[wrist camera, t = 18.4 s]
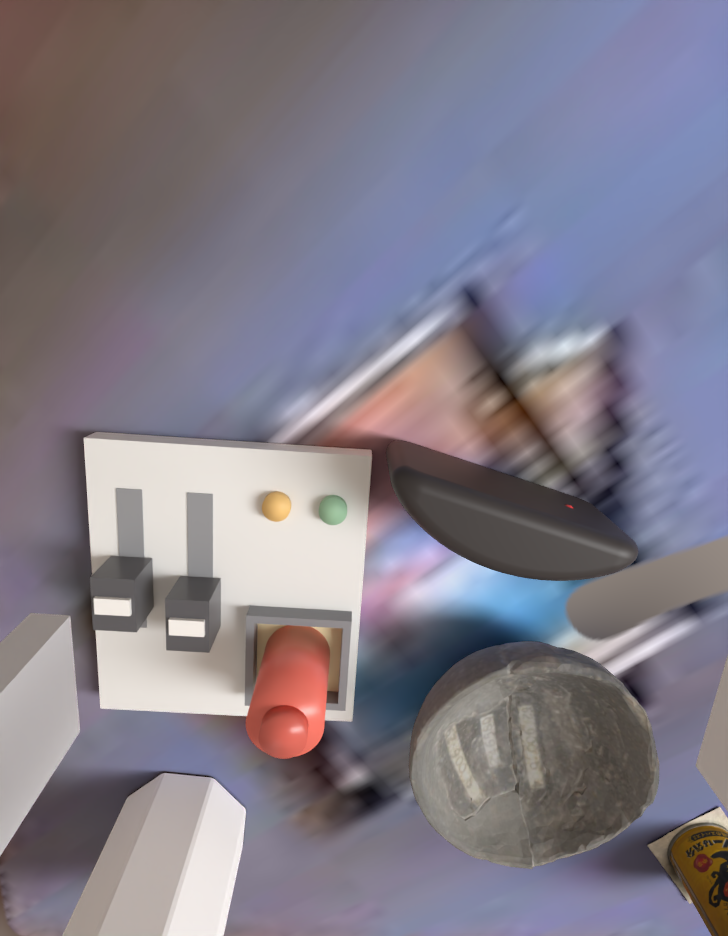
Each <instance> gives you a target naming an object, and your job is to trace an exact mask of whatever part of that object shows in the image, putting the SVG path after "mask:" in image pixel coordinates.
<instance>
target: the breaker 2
mask: <svg viewBox="0 0 728 936" xmlns="http://www.w3.org/2000/svg"><path fill="white" fill-rule="evenodd" d="M165 620H166V650H169V651H187V652H205V653H209V652H210V650H211V648H212V645H213V643H214V641H215V638H216V636H217V634H218V631H219V629H220V627H221V578H208V577H191V576H180V577H179V578H178V580H177V581H176V583H175V584H174V586H173V587H172V589H171V590H170V592H169V593H168V595H167V597H166V598H165Z"/></svg>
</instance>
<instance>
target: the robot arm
mask: <svg viewBox="0 0 728 936" xmlns="http://www.w3.org/2000/svg"><path fill="white" fill-rule="evenodd" d="M79 732H80V725H79V713H78V701H77V690H76V678H75V666H74V655H73V643H72V631H71V620H70V616H69V615H52V614H35V613H30V614H29V615H28V616H27V617H26V618H25V619H24V620H23V621H22V622H21V623H20V624H19V625H18V626H17V627H16V628H15V629H14V630H13V631H12V632H11V633H10V634H9V635H8V636H7V637H6V638H5V639H4V640H3V641H2V642H1V643H0V856H1V854H2V853H3V851H4V849H5V848H6V846H7V845H8V843H9V842H10V840H11V839H12V837H13V835H14V834H15V832H16V831H17V829H18V828H19V826H20V824H21V823H22V821H23V820H24V818H25V817H26V815H27V814H28V812H29V810H30V809H31V807H32V806H33V804H34V803H35V801H36V799H37V798H38V796H39V795H40V793H41V792H42V790H43V788H44V787H45V785H46V784H47V782H48V781H49V779H50V778H51V776H52V774H53V773H54V771H55V770H56V768H57V767H58V765H59V763H60V762H61V760H62V759H63V757H64V756H65V754H66V753H67V751H68V749H69V748H70V746H71V745H72V743H73V742H74V740H75V738H76V737H77V735H78V734H79ZM696 767H697V768H698V770H699V771H700V773H701V774H702V775H703V777H704V778H705V780H706V781H707V783H708V784H709V785H710V787H711V788H712V790H713V791H714V793H715V794H716V795H717V797H718V798H719V800H720V801H721V803H722V804H723V805H724V807H725V808H726V810H727V811H728V656H727V659H726V663H725V666H724V670H723V673H722V677H721V680H720V684H719V687H718V690H717V694H716V697H715V701H714V704H713V708H712V711H711V715H710V718H709V721H708V725H707V728H706V732H705V735H704V739H703V742H702V745H701V749H700V752H699V756H698V759H697V763H696Z"/></svg>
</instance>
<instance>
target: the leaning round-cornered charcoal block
mask: <svg viewBox="0 0 728 936" xmlns="http://www.w3.org/2000/svg"><path fill="white" fill-rule="evenodd" d="M386 457H387V463H388V469H389V474H390V480H391V484H392V487H393V489H394V492H395V494H396V496H397V498H398V499H399V501H400V503H401V504H402V506H403V507H404V508H405V510H406V511H407V512H408V514H409V515H410V516H411V517H412V518H413V519H414V520H415V522H416V523H417V524H418V525H419V526H420V527H421V528H422V529H423V530H425V531H426V532H427V533H428V534H429V535H430V536H432V537H433V538H434V539H435V540H437V541H438V542H439V543H441V544H442V545H444V546H445V547H447V548H448V549H450V550H451V551H453V552H455V553H457V554H458V555H460V556H462V557H464V558H466V559H468V560H470V561H472V562H474V563H476V564H479V565H481V566H484V567H487V568H489V569H492V570H495V571H499V572H502V573H505V574H510V575H514V576H518V577H524V578H530V579H538V580H552V581H568V580H581V579H590V578H595V577H601V576H605V575H609V574H613V573H616V572H618V571H620V570H622V569H624V568H626V567H627V566H629V565H630V564H632V563H633V562H634V561H635V559H636V558H637V555H638V548H637V545H636V543H635V542H634V540H633V539H631V538H630V537H629V536H628V535H627V534H626V533H624V532H623V531H622V530H621V529H620V528H619V527H618V526H616V525H615V524H614V523H613V522H612V521H611V520H609V519H608V518H607V517H606V516H605V515H604V514H603V513H601V512H600V511H599V510H598V509H597V508H596V507H594V506H593V505H592V504H590V503H588V502H586V501H584V500H582V499H579V498H577V497H574V496H571V495H568V494H565V493H562V492H559V491H556V490H553V489H550V488H547V487H544V486H541V485H538V484H534V483H531V482H528V481H525V480H522V479H519V478H516V477H513V476H510V475H507V474H504V473H501V472H498V471H495V470H492V469H489V468H486V467H483V466H480V465H477V464H474V463H471V462H468V461H465V460H462V459H459V458H456V457H453V456H450V455H447V454H444V453H440V452H437V451H434V450H431V449H428V448H425V447H422V446H419V445H416V444H413V443H410V442H406V441H399V440H397V441H393V442H391V443H390V444H389V445H388V447H387V449H386Z"/></svg>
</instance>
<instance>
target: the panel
mask: <svg viewBox="0 0 728 936" xmlns="http://www.w3.org/2000/svg"><path fill="white" fill-rule="evenodd" d="M84 452H85V468H86V484H87V500H88V516H89V532H90V548H91V564H92V574H93V573H94V572H95V571H96V570H97V569H98V568H99V567H100V566H101V565H102V564H103V563H104V562H105V561H106V560H107V559H108V558H109V557H110V556H124V557H141V558H152V564H153V596H154V608H153V609H152V611H151V612H150V614H149V615H148V617H147V618H146V620H145V621H144V623H143V624H142V625H141V627H140V628H139V630H138V631H137V632H120V631H103V630H96V645H97V661H98V677H99V694H100V708H103V709H122V710H141V711H160V712H179V713H197V714H216V715H235V716H247V714H248V710H249V706H250V703H251V699H252V695H253V692H254V688H255V684H256V681H257V677H258V673H259V670H260V666H261V662H262V658H263V655H264V651H265V647H266V644H267V641H268V639H269V638H270V636H271V635H272V634H273V633H274V632H275V631H276V630H278V629H279V628H281V627H284V626H286V625H292V626H309V627H313V628H314V629H316V630H318V631H319V632H320V633H321V634H322V635H323V636H324V637H325V638H326V640H327V642H328V644H329V647H330V663H329V675H328V687H327V700H326V712H325V720H330V721H349V722H352V719H353V705H354V692H355V679H356V665H357V652H358V638H359V625H360V612H361V598H362V585H363V572H364V558H365V545H366V531H367V518H368V505H369V491H370V478H371V465H372V450H369V449H353V448H338V447H323V446H307V445H292V444H276V443H261V442H246V441H230V440H215V439H199V438H184V437H168V436H153V435H138V434H122V433H107V432H95V433H93V434H91V435H89V436H87V437H84ZM180 576H191V577H208V578H221V627H220V629H219V631H218V634H217V636H216V638H215V641H214V643H213V645H212V648H211V650H210V652H209V653H205V652H187V651H169V650H166V620H165V598H166V597H167V595H168V593H169V592H170V590H171V589H172V587H173V586H174V584H175V583H176V581H177V580H178V578H179V577H180Z"/></svg>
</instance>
